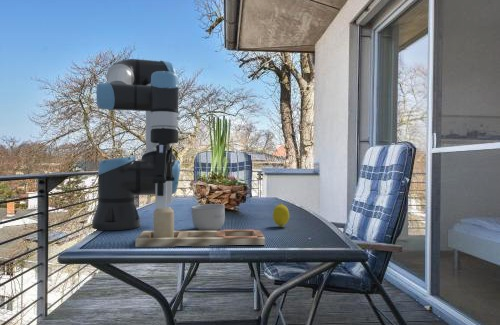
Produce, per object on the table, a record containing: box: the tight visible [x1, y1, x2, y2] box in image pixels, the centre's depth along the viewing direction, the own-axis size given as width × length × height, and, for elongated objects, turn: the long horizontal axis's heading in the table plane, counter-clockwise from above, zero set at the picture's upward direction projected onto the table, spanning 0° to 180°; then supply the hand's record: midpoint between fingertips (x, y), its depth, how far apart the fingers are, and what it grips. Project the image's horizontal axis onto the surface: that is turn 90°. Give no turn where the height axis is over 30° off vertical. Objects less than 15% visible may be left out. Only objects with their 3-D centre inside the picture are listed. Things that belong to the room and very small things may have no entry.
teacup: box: [191, 203, 226, 231], centre depth 134 cm, size 14×11×8 cm
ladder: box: [134, 229, 266, 248], centre depth 114 cm, size 34×12×2 cm, turn 95°
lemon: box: [272, 203, 290, 228], centre depth 139 cm, size 6×6×8 cm
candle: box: [153, 205, 175, 238], centre depth 113 cm, size 6×6×10 cm
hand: (164, 206), depth 112 cm, fingers open, 13 cm apart
